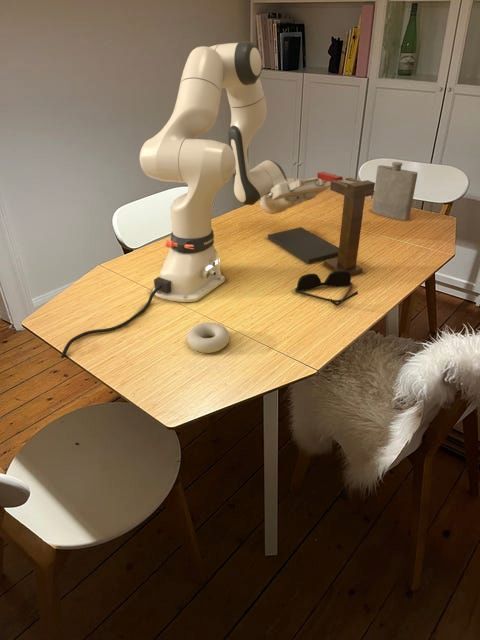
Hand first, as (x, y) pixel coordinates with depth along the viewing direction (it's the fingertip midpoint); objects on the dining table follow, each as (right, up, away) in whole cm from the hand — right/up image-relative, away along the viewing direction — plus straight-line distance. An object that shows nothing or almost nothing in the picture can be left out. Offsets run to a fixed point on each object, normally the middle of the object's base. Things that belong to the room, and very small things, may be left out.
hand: (314, 180), depth 143 cm
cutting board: (-1, -18, +14) cm, 23 cm away
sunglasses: (+2, -37, -16) cm, 40 cm away
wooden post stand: (+9, -27, -1) cm, 28 cm away
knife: (+6, -3, -10) cm, 12 cm away
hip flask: (+35, -2, +39) cm, 52 cm away
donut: (-30, -48, -33) cm, 66 cm away
